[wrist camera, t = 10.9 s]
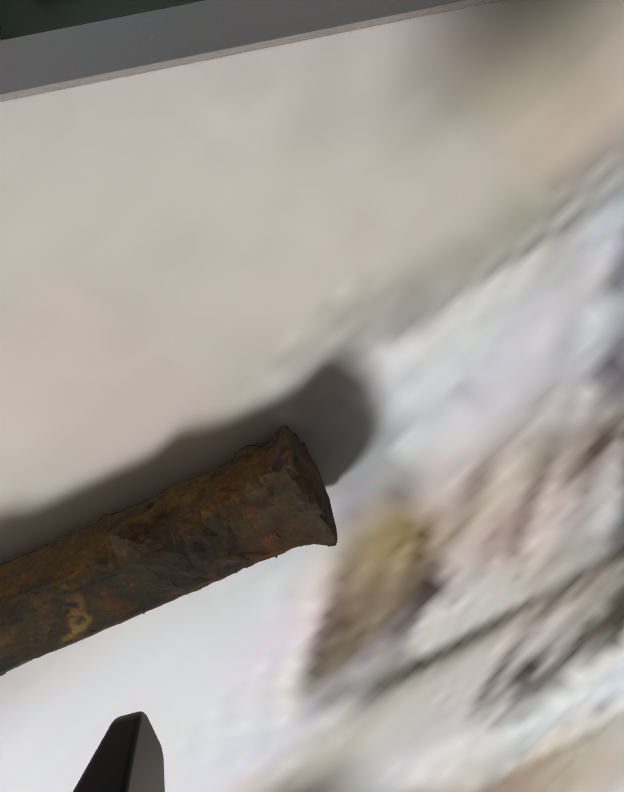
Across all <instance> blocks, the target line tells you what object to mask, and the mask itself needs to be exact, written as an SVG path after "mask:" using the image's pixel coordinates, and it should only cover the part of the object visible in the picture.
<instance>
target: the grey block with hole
mask: <svg viewBox="0 0 624 792" xmlns="http://www.w3.org/2000/svg"><path fill="white" fill-rule="evenodd" d="M495 1H500V0H204V1H199V2H194V3H189V4H184V5H179V6H174V7H169V8H164V9H159V10H154V11H148V12H143V13H138V14H133V15H128V16H123V17H118V18H113V19H108V20H103V21H98V22H92V23H87V24H82V25H77V26H72V27H67V28H62V29H57V30H52V31H47V32H42V33H36V34H31V35H26V36H21V37H16V38H11V39H6V40H5V38H4V35H3V33H2V30H1V27H0V102H2V101H7V100H12V99H16V98H21V97H26V96H31V95H36V94H41V93H46V92H51V91H56V90H61V89H66V88H71V87H76V86H81V85H86V84H90V83H95V82H100V81H105V80H110V79H115V78H120V77H125V76H130V75H135V74H140V73H145V72H150V71H155V70H159V69H164V68H169V67H174V66H179V65H184V64H189V63H194V62H199V61H204V60H209V59H214V58H219V57H224V56H228V55H233V54H238V53H243V52H248V51H253V50H258V49H263V48H268V47H273V46H278V45H283V44H288V43H293V42H298V41H302V40H307V39H312V38H317V37H322V36H327V35H332V34H337V33H342V32H347V31H352V30H357V29H362V28H367V27H371V26H376V25H381V24H386V23H391V22H396V21H401V20H406V19H411V18H416V17H421V16H426V15H431V14H436V13H440V12H445V11H450V10H455V9H460V8H465V7H470V6H475V5H480V4H485V3H490V2H495Z"/></svg>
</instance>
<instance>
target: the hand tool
mask: <svg viewBox="0 0 624 792" xmlns="http://www.w3.org/2000/svg"><path fill="white" fill-rule="evenodd" d="M336 543H337V530H336V525H335V521H334V517H333V513H332V508H331V504H330V499H329V496H328V494H327V492H326V489H325V486H324V484H323V481H322V478H321V476H320V474H319V471H318V468H317V466H316V464H315V463H314V461H313V459H312V457H311V456H310V454H309V452H308V449H307V447H306V445H305V443H301V442H300V440H299V439H298V437H297V436H296V434H295V433H293V432H292V431H291V430H290V429H289V428H288V426H287V425H283V426H281V427H280V428H279V429H278V430H277V432H276V434H275V435H274V437H273V439H272V441H271V443H269V444H268V445H266V446H264V447H261V446H258V445H245V446H244V447H243V448H242V449H240V451H239V453H236V454H235V456H234V458H233V460H232V461H230V462H228V463H226V464H224V465H222V466H219V467H217V468H215V469H214V470H212V471H210V472H208V473H206V474H204V475H201V476H199V477H196V478H194V479H191V480H188V481H185V482H181V483H179V484H177V485H175V486H173V487H171V488H169V489H167V490H164V491H162V492H160V493H159V494H158V495H156V496H155V497H154V498H152V499H150V500H148V501H146V502H143V503H141V504H138V505H136V506H134V507H132V508H129V509H127V510H124V511H122V512H119V513H117V514H105V515H104V516H103V517H102V518H101V519H100V520H99V521H97V522H95V523H93V524H91V525H89V526H87V527H85V528H83V529H81V530H79V531H77V532H74V533H71V534H68V535H66V536H64V537H62V538H60V539H59V540H57V541H55V542H53V543H51V544H49V545H47V546H45V547H43V548H40V549H38V550H36V551H34V552H31V553H29V554H27V555H24V556H22V557H20V558H18V559H16V560H13V561H11V562H8V563H6V564H4V565H1V566H0V676H1V675H4V674H6V672H8V671H10V670H12V669H14V668H16V667H18V666H20V665H22V664H24V663H26V662H28V661H30V660H32V659H35V658H39V657H41V656H43V655H45V654H47V653H50V652H53V651H56V650H58V649H61V648H63V647H66V646H68V645H71V644H73V643H76V642H78V641H80V640H83V639H85V638H87V637H90V636H92V635H94V634H96V633H98V632H100V631H102V630H104V629H107V628H109V627H112V626H114V625H117V624H120V623H123V622H125V621H127V620H129V619H131V618H133V617H135V616H138V615H140V614H142V613H143V614H144V613H145V612H146V611H149V610H151V609H154V608H157V607H159V606H161V605H163V604H165V603H168V602H170V601H173V600H175V599H177V598H179V597H181V596H183V595H186V594H187V595H188V594H189V593H191V592H194V591H197V590H200V589H202V588H203V587H205V586H208V585H209V584H211V583H213V582H216V581H219V580H222V579H224V578H226V577H227V576H229V575H231V574H234V573H237V572H238V571H240V570H241V569H243V568H248V567H250V566H252V565H254V564H255V563H257V562H260V561H263V560H266V559H269V558H272V557H276V558H277V556H278V555H280V554H283V553H285V552H286V551H288V550H290V549H292V548H295V547H298V546H300V547H301V546H304V545H311V544H319V545H328V547H329V546H335V545H336Z"/></svg>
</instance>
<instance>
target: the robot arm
mask: <svg viewBox="0 0 624 792" xmlns="http://www.w3.org/2000/svg"><path fill="white" fill-rule="evenodd" d="M73 792H165V785H164V759H163V752H162V748H161V745H160V742H159V740H158V738H157V736H156V734H155V732H154V730H153V728H152V726H151V723H150V721H149V719H148V717H147V716H146V714H145V713H144V712H135V713H131V714H128V715H124V716H120V717H118V718H116V719H115V720H114V721H113V722H112V724H111V725H110V727H109V729H108V731H107V732H106V734H105V736H104V738H103V739H102V741H101V743H100V745H99V746H98V748H97V750H96V752H95V754H94V755H93V757H92V759H91V761H90V762H89V764H88V766H87V768H86V769H85V771H84V773H83V775H82V777H81V778H80V780H79V782H78V784H77V785H76V787H75V789H74V791H73Z"/></svg>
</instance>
